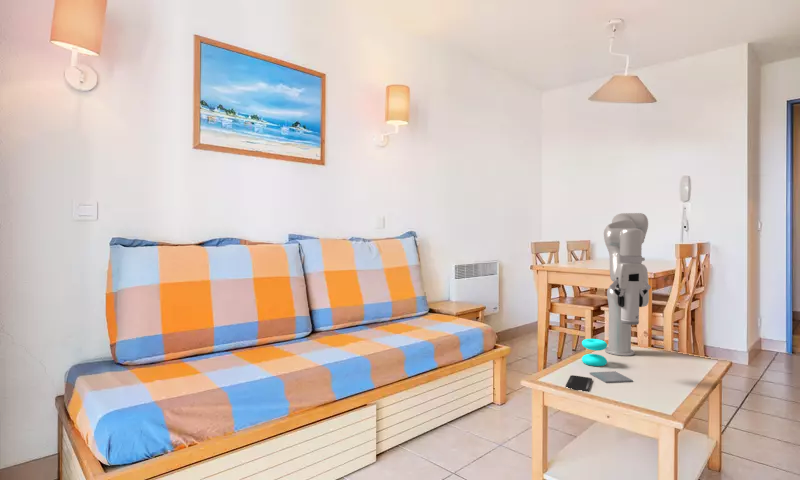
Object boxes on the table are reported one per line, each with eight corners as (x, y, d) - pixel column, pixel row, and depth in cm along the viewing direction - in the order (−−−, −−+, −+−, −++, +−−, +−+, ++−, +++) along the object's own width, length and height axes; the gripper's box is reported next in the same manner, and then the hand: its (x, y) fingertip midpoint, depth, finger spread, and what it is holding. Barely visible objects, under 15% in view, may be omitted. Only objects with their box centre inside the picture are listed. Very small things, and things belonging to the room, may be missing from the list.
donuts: (588, 336, 203) (611, 340, 196) (588, 359, 203) (611, 364, 196) (577, 340, 196) (600, 344, 189) (577, 363, 196) (600, 368, 189)
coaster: (589, 373, 182) (589, 372, 182) (615, 372, 183) (615, 371, 183) (605, 382, 171) (605, 381, 171) (632, 381, 173) (632, 380, 173)
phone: (592, 378, 174) (588, 389, 161) (592, 381, 174) (588, 393, 161) (570, 374, 178) (564, 386, 165) (570, 377, 178) (564, 389, 165)
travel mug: (642, 325, 174) (643, 272, 174) (623, 324, 175) (624, 272, 175) (636, 322, 180) (637, 271, 180) (618, 321, 182) (619, 271, 181)
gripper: (647, 259, 181) (647, 305, 181) (604, 259, 181) (603, 304, 182) (658, 261, 174) (657, 308, 174) (612, 260, 174) (612, 307, 174)
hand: (630, 306), depth 178 cm, fingers closed on travel mug, 6 cm apart
